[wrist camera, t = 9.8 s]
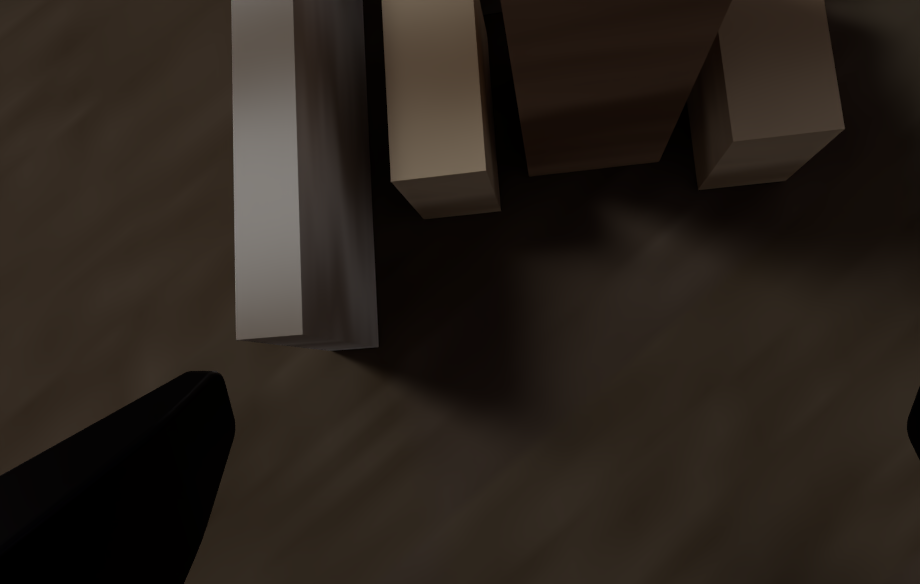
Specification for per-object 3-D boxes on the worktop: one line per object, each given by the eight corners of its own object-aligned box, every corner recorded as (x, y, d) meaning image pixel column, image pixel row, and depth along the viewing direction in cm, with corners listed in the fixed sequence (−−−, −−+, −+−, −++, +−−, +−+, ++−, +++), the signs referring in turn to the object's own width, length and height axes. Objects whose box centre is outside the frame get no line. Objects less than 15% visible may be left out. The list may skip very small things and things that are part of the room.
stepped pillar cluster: (805, 314, 18) (921, 284, 12) (330, 350, 20) (235, 340, 14) (741, -120, 20) (815, -325, 14) (316, -46, 22) (228, -198, 16)
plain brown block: (658, 161, 19) (758, -58, 10) (529, 176, 20) (497, -16, 10) (644, 41, 20) (725, -283, 10) (518, 59, 21) (480, -230, 11)
